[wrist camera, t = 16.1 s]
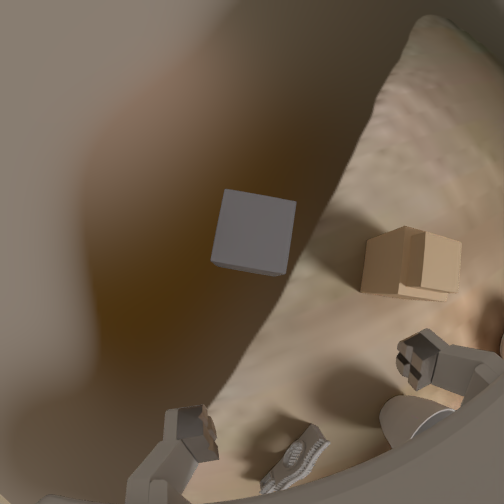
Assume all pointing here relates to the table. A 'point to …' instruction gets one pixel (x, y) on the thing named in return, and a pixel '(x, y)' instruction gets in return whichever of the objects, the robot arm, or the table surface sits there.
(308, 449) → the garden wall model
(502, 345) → the lidded jar
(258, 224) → the gray rectangular block
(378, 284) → the kraft box
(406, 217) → the table surface
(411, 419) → the cup
